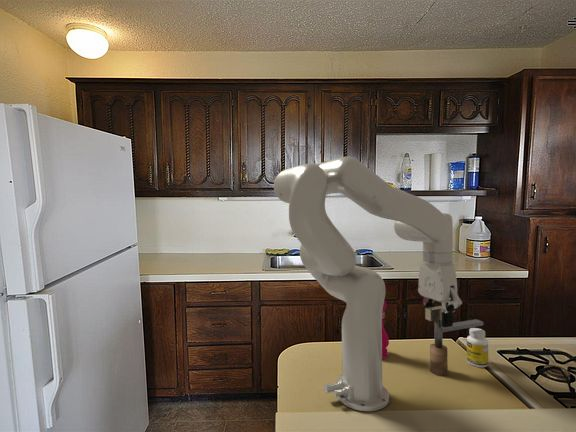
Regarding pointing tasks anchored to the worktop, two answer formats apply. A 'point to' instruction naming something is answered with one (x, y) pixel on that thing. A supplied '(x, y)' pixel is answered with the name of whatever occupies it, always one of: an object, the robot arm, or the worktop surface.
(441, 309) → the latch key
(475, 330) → the supplement bottle
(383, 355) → the pepper mill
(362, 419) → the worktop surface
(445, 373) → the post
